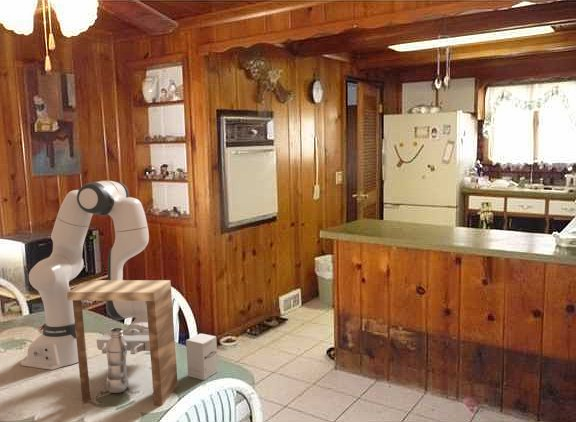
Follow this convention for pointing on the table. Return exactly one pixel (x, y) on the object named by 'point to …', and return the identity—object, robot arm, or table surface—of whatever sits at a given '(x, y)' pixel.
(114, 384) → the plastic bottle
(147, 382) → the table surface
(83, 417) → the table surface
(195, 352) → the supplement box
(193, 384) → the table surface
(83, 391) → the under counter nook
